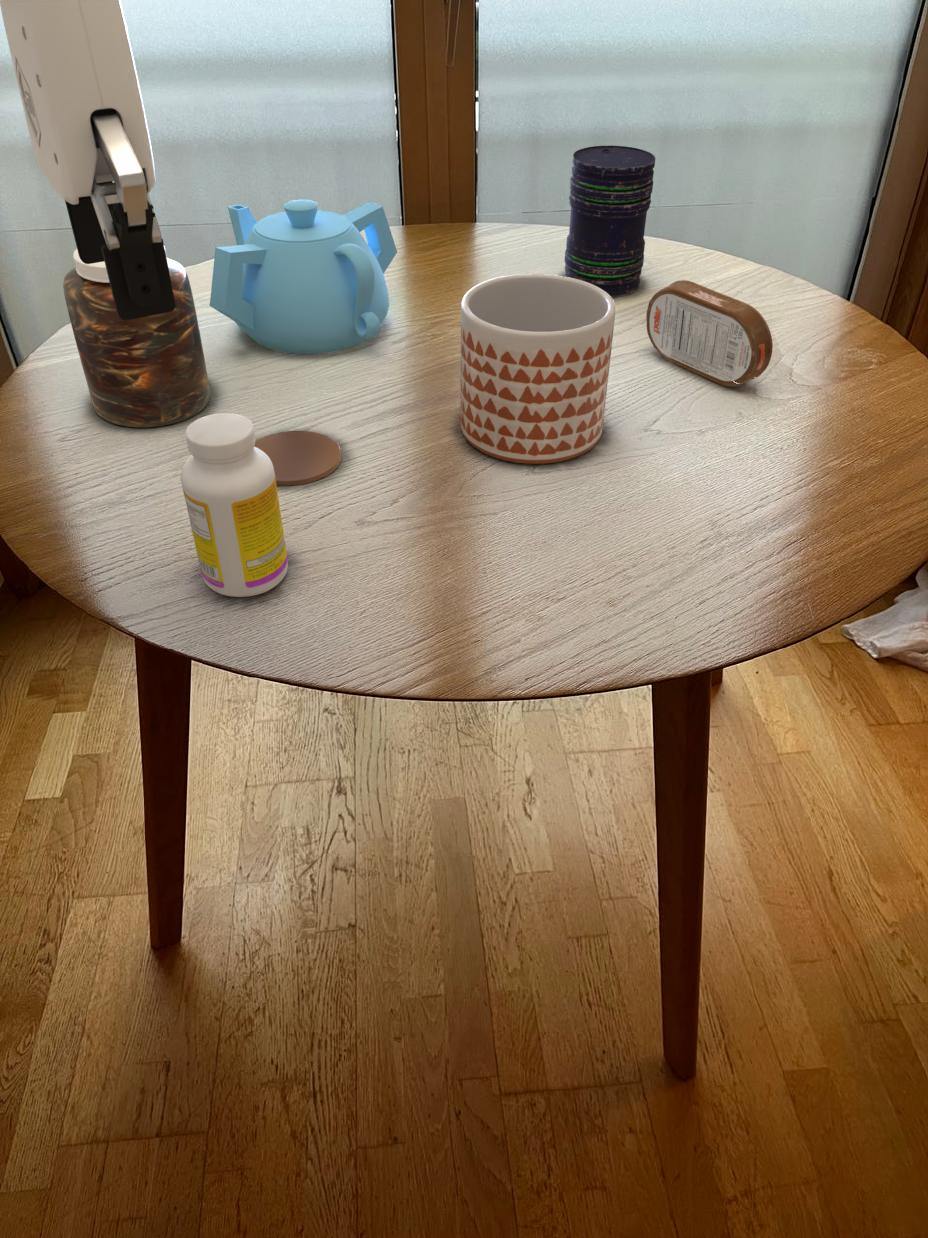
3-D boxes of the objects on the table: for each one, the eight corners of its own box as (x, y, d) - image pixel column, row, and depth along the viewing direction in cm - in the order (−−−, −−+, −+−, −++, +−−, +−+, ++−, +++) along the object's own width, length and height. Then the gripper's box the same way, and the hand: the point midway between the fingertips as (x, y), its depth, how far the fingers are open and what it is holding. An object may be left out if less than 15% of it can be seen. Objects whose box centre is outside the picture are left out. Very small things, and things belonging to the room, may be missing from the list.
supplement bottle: (297, 552, 77) (279, 408, 69) (277, 603, 72) (254, 455, 64) (216, 547, 78) (188, 403, 70) (191, 597, 73) (157, 449, 65)
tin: (765, 391, 99) (783, 312, 94) (746, 400, 98) (763, 321, 92) (655, 343, 108) (666, 268, 103) (636, 351, 107) (646, 275, 101)
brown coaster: (252, 493, 84) (251, 488, 84) (235, 444, 91) (234, 439, 90) (352, 475, 86) (351, 470, 86) (328, 428, 93) (328, 424, 93)
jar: (229, 379, 101) (205, 233, 91) (184, 433, 92) (152, 278, 82) (124, 369, 102) (89, 225, 93) (70, 422, 94) (26, 268, 84)
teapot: (399, 296, 118) (394, 177, 109) (387, 366, 103) (380, 235, 94) (244, 295, 118) (226, 176, 109) (210, 365, 104) (186, 234, 95)
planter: (499, 385, 100) (503, 262, 92) (622, 416, 95) (638, 289, 87) (434, 443, 91) (432, 313, 83) (567, 480, 86) (579, 346, 78)
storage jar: (652, 294, 119) (669, 165, 109) (577, 300, 117) (588, 170, 108) (624, 265, 126) (638, 142, 117) (553, 271, 125) (561, 147, 115)
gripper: (-58, -77, 51) (34, 250, 62) (-8, -41, 39) (94, 353, 50) (87, -82, 54) (150, 232, 65) (173, -50, 42) (232, 325, 53)
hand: (126, 285), depth 57 cm, fingers open, 9 cm apart
